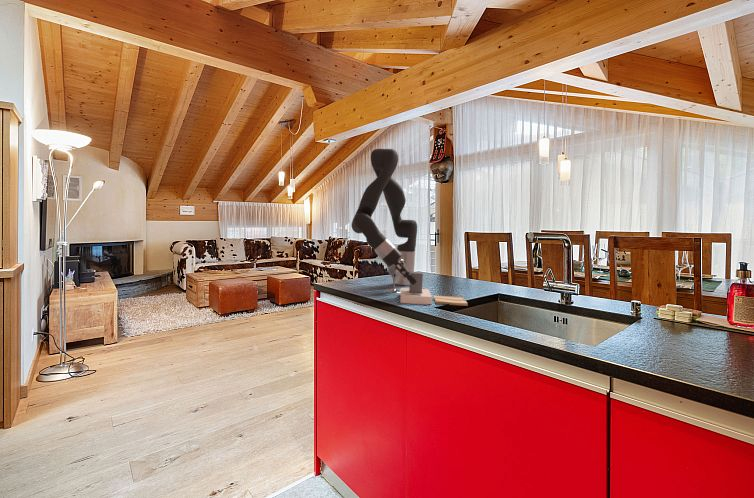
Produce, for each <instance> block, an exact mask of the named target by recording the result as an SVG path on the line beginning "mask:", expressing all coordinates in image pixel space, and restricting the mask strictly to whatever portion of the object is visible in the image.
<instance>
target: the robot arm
mask: <svg viewBox="0 0 754 498" xmlns="http://www.w3.org/2000/svg"><path fill="white" fill-rule="evenodd" d="M370 163H371V166H372V169H373V171H374V174H375V175H376V178H375V179H374V180H373V181H372V182H371V183H370V184H368V185H367V186H366V188H365V190H364V192H363V193H362V196H361V198H360V199H361V200H360V201H359V204H358V207H357V210H356V212H355V215H354V217H353V219H352V220H351V228H352V230H353V232H354V233H356V234H363V236H364V237H365V238H366V243H367V244H368V245H369V246H370V248H371V249H372V250H373V251H374V252H375V253H376V255H377V256H378V257H379V258H380V259H381V260H382V262H383V263H384V264H385V265H386V267H387V266H388V267H390V266H392V265H393V264H394V265H395V269H396V270H397V271H399V273H400V274H399V275H398V277H397V278H396V282H395V285H399V286H410V283H411V284H412V285H414V284H415V283H416V280H415V279H414V278H413V277H412V276H411V274H410V272H415V261H416V260H415V259H416V246H417V237H418V236H417V235H418V223H417V221H416V220H414V219H402V217H401V213H402V211H403V210H404V208H405V205H406V201H407V199H406V196H405V193H404V190H403V187H402V186H401V185H400V184H399V182H398V181H397V180H396V179H395V178H393V174H394V173H395V170H396V169H397V166H398V164H399V155H398V151H397V150H396V149H392V148H375V149H373V150H372V151H371V153H370ZM382 194H383V197H384V199H385V203H386V204H387V208H388V210H389V214H390V217H391V219H392V225H393V229H394V233H395V235H396V236H397V237H398V238H401V239H402V238H403V239H404V238H405V239H407V240H406V241H405V242H404V243H401V244H398V245H397V247H396V246H395V245H394V244H393V243H392V242H391V241H390V240H389V239H388V238H386V236H385V235H384V234H383V233H382V232H381V231H380V230H379V228H378V226H377V224H376V223H375V221H374V220H373V219H372V215H373V214H374V212H375V210H376V208H377V206H378V203H379V201H380V198H381V196H382ZM399 258H401V259H404V262H403V261H402V262H401V260H398V259H399Z"/></svg>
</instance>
